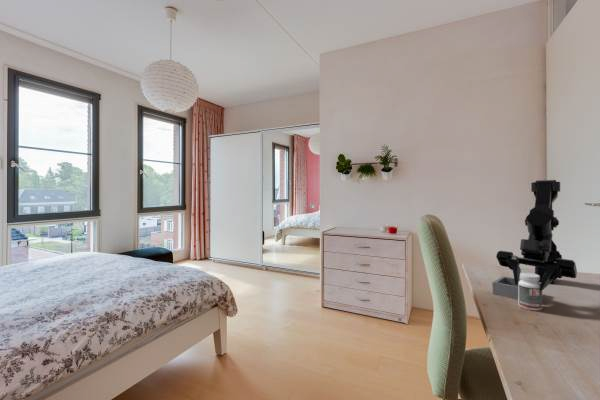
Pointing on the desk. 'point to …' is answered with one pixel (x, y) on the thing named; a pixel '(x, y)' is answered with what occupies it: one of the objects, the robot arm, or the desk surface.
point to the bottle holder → (506, 287)
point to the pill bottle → (529, 291)
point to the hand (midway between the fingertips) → (528, 286)
